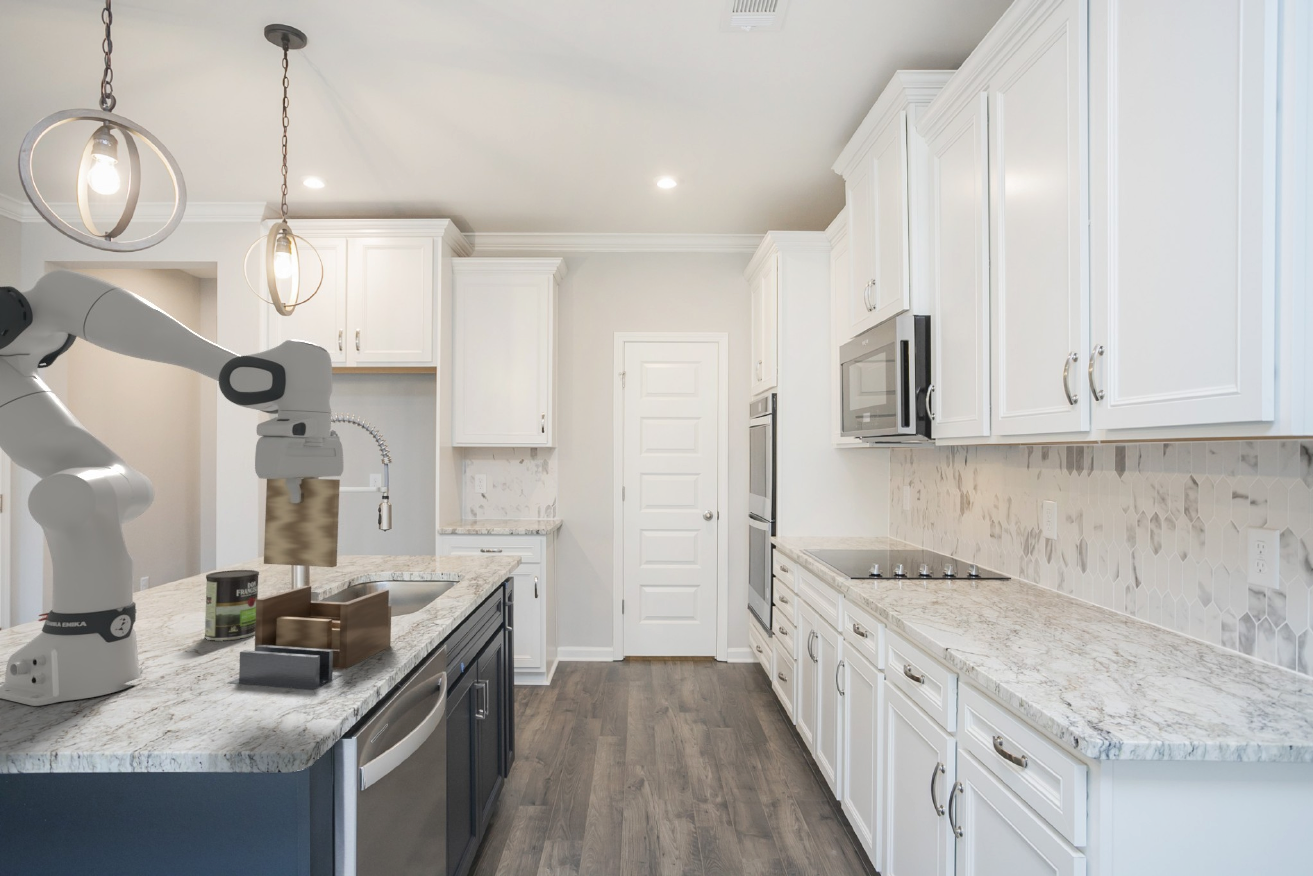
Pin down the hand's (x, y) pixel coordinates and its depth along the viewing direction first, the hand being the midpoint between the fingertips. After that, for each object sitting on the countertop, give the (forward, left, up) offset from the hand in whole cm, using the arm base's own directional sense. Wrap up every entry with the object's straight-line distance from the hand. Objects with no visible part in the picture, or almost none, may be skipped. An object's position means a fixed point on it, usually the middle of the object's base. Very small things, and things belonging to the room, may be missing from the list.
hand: (301, 502), depth 126 cm
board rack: (-2, +11, -33) cm, 35 cm away
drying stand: (+1, -4, -33) cm, 33 cm away
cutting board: (0, 0, -12) cm, 12 cm away
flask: (-17, +27, -33) cm, 46 cm away
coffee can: (-35, +24, -33) cm, 54 cm away
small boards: (-2, +8, -31) cm, 32 cm away
